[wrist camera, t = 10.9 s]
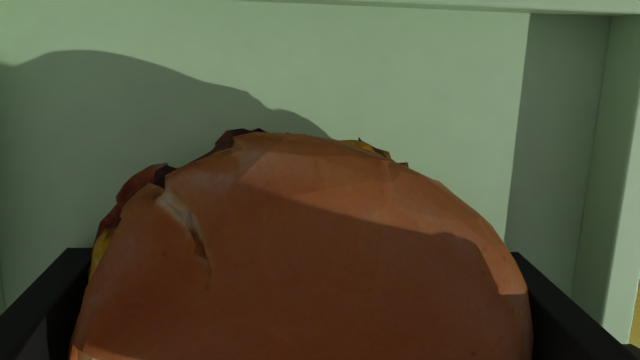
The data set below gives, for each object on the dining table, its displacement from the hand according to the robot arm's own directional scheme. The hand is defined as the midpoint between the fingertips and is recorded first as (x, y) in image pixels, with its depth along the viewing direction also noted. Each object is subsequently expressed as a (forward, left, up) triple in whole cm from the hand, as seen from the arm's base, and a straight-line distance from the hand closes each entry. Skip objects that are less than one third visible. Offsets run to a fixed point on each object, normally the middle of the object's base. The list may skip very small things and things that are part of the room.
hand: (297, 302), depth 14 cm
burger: (0, 0, 0) cm, 1 cm away
